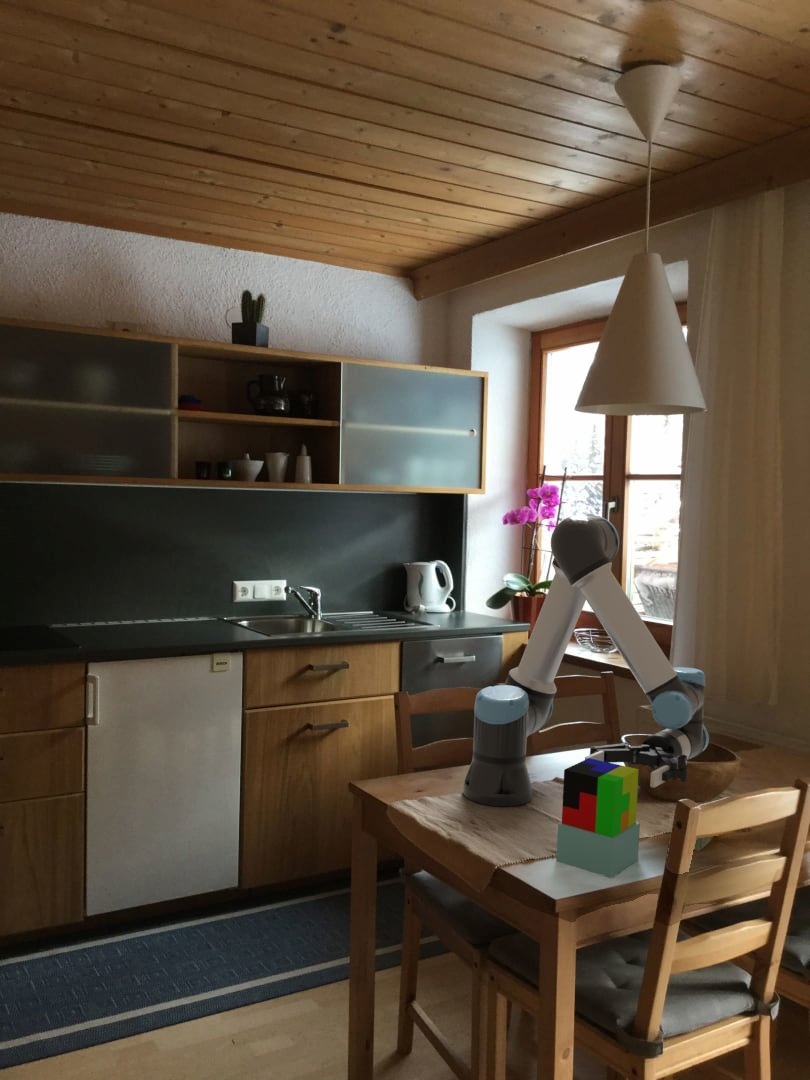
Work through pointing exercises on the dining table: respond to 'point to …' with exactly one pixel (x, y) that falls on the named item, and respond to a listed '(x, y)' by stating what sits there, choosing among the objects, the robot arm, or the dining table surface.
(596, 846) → the base brick
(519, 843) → the dining table surface
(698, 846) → the medication box
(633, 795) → the puzzle toy
